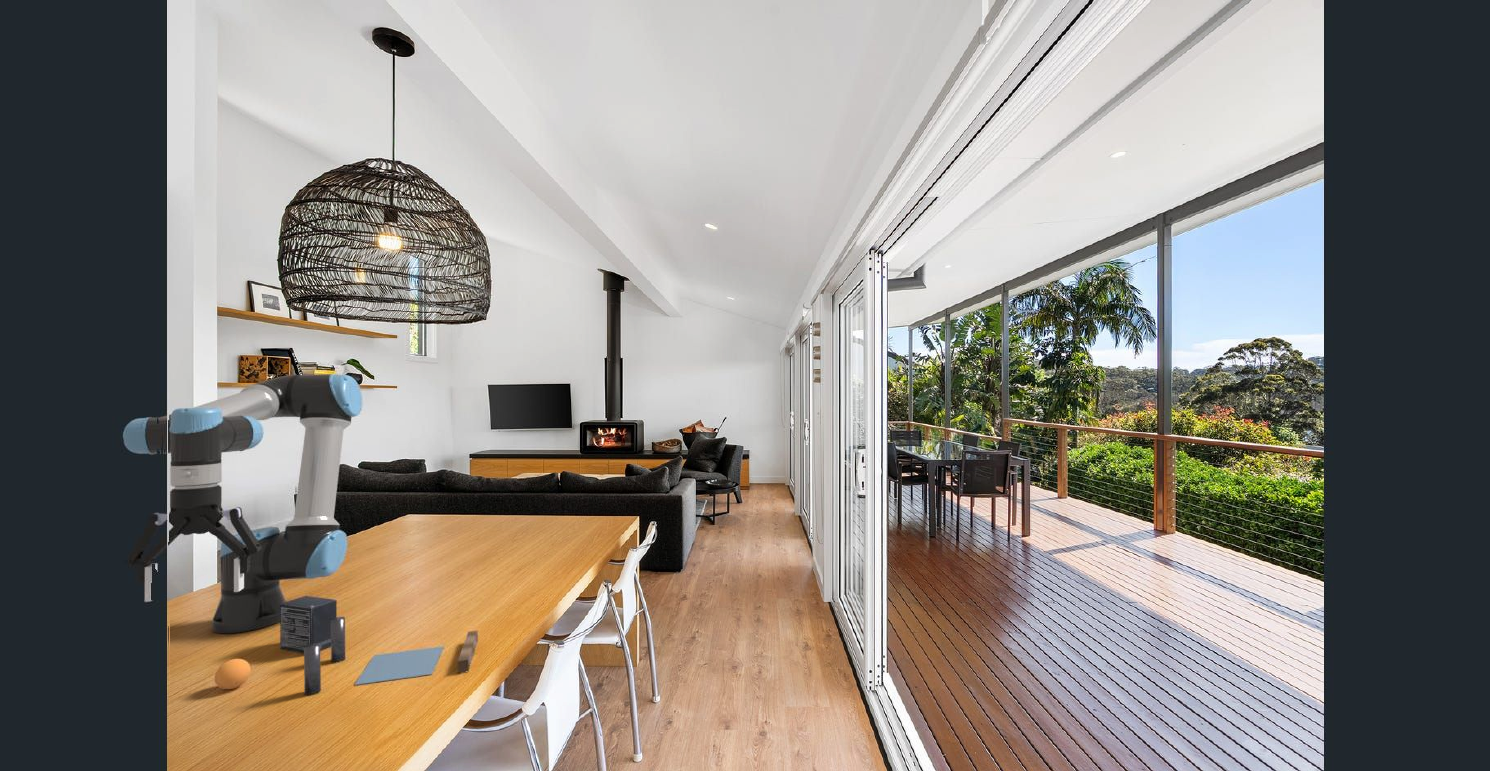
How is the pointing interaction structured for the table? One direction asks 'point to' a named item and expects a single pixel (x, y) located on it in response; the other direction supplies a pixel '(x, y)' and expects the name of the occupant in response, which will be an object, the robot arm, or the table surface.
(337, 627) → the post
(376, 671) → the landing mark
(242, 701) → the table surface
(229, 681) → the ball
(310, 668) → the post
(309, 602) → the small box
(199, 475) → the robot arm
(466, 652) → the stopper wall
